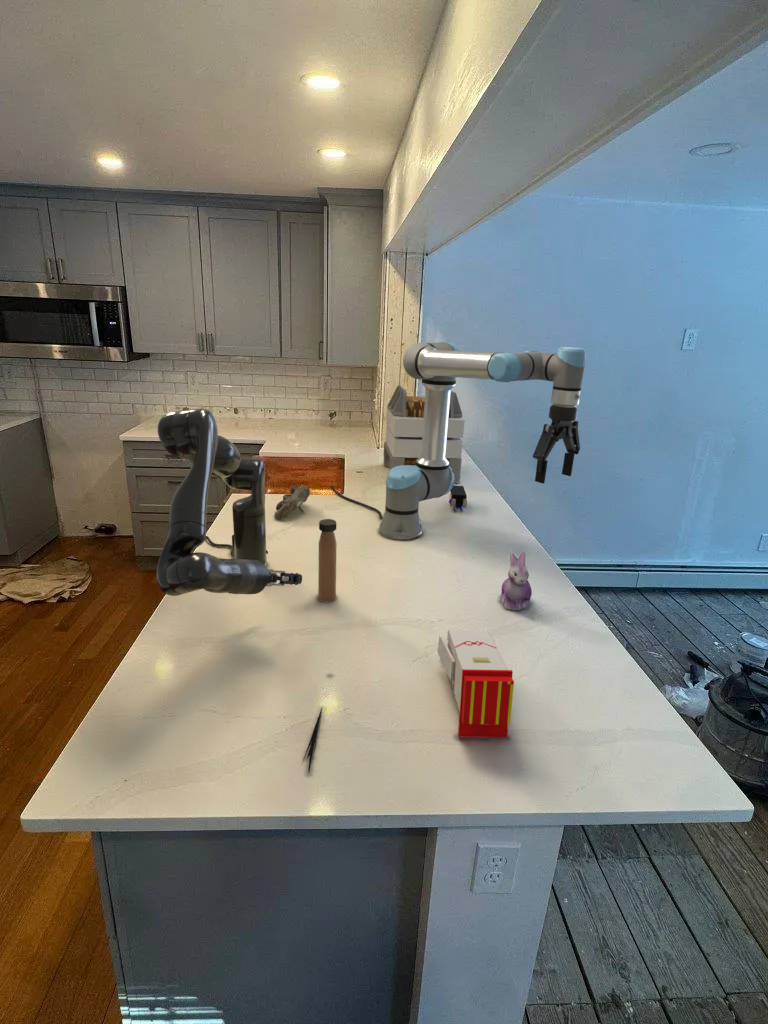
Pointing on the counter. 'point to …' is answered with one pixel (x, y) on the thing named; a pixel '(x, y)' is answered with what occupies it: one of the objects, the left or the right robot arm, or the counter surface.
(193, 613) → the counter surface
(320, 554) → the bottle
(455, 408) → the stacked slatted crates
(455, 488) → the figurine character
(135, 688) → the counter surface
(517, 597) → the figurine
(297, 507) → the fossil
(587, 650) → the counter surface
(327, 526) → the cap
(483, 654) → the toy
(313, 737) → the feather
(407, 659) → the counter surface
